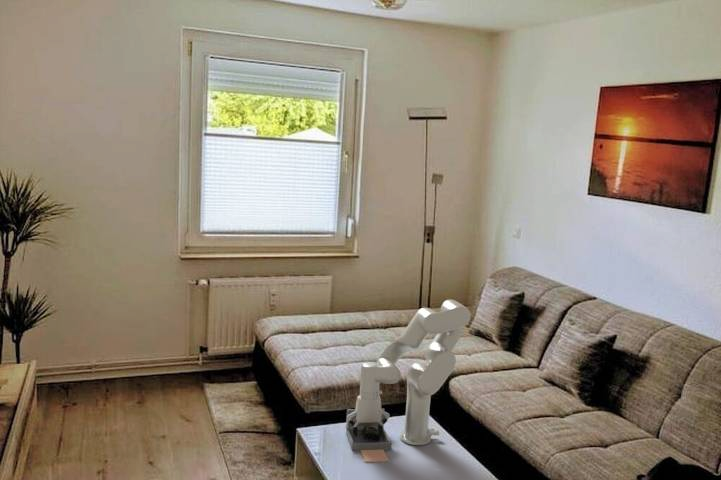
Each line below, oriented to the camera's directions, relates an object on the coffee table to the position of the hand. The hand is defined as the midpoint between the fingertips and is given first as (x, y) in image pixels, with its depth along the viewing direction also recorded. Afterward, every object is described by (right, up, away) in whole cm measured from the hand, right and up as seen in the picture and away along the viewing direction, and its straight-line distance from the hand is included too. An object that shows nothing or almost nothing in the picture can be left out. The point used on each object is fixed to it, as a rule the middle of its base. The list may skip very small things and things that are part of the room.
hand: (367, 434), depth 243 cm
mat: (+3, -5, -11) cm, 12 cm away
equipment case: (0, -3, 0) cm, 3 cm away
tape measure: (0, -3, 0) cm, 3 cm away
